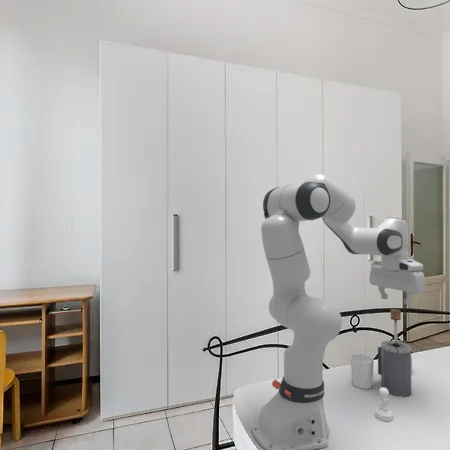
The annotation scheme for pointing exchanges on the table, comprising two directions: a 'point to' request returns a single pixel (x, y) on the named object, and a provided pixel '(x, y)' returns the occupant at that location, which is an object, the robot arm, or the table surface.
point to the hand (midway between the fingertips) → (395, 301)
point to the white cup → (362, 370)
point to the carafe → (395, 367)
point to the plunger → (395, 323)
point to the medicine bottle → (411, 357)
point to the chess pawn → (384, 406)
